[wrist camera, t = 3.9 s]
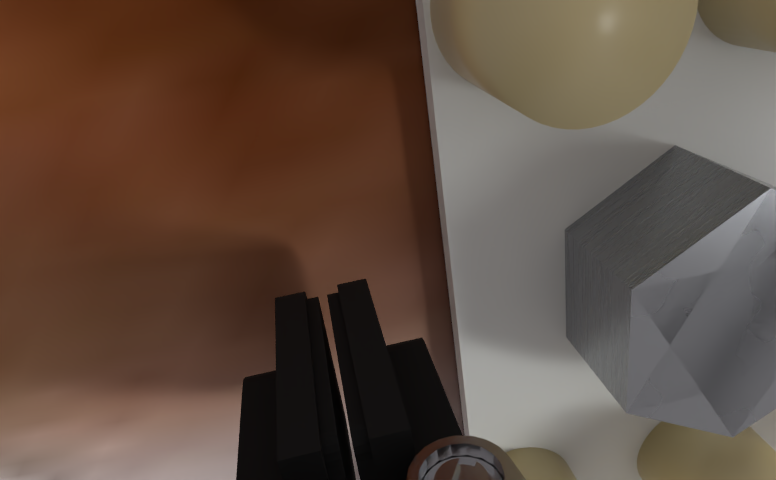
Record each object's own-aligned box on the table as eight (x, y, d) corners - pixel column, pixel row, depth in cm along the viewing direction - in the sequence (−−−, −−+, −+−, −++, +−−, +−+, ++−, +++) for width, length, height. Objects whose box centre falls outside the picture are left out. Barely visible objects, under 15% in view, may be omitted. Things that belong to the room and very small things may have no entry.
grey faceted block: (781, 123, 11) (900, 160, 9) (748, 340, 14) (837, 410, 11) (564, 167, 11) (635, 216, 9) (566, 383, 13) (624, 465, 11)
